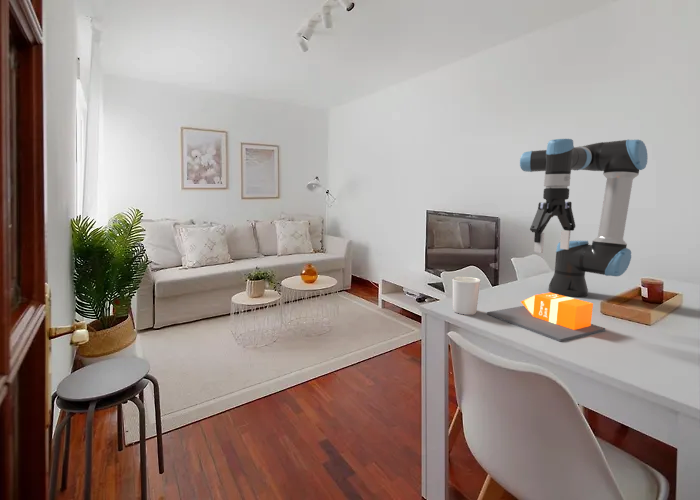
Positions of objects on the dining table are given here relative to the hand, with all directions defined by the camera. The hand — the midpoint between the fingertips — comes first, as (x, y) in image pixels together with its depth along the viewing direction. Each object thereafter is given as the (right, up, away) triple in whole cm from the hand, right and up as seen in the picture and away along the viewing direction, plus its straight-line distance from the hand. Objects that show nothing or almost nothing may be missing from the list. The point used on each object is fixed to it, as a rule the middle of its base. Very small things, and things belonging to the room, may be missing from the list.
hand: (551, 250), depth 129 cm
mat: (-4, -24, -1) cm, 24 cm away
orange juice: (+5, -21, -9) cm, 23 cm away
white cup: (-27, -22, +10) cm, 36 cm away
